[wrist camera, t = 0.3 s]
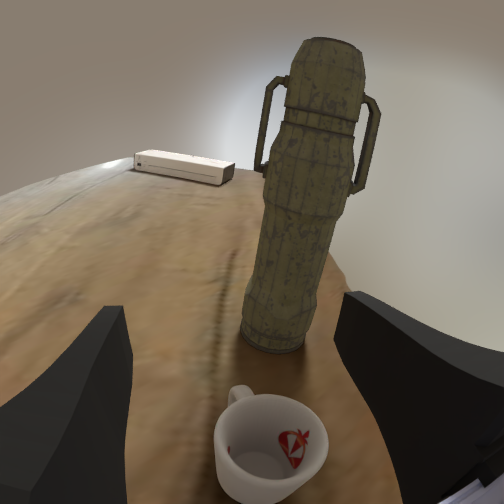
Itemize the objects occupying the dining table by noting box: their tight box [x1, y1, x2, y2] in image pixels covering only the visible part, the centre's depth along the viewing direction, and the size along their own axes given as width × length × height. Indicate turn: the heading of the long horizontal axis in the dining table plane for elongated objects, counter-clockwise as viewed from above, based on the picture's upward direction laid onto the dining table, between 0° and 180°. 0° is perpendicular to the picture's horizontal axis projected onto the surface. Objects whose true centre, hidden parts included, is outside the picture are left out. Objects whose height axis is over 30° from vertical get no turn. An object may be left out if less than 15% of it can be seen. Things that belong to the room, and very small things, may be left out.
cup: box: [214, 385, 329, 504], centre depth 22 cm, size 11×8×8 cm
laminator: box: [134, 150, 235, 185], centre depth 106 cm, size 34×12×6 cm, turn 75°
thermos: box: [240, 37, 381, 354], centre depth 34 cm, size 9×12×35 cm
